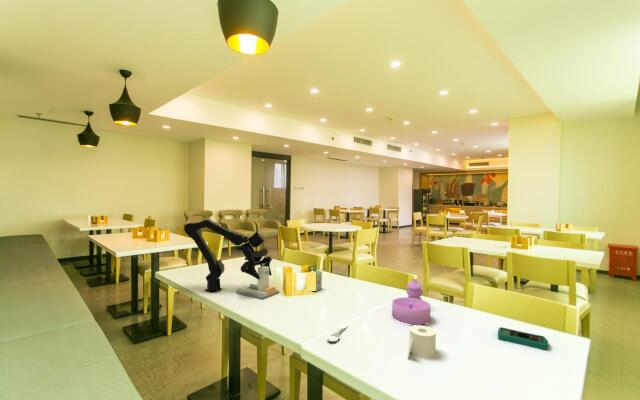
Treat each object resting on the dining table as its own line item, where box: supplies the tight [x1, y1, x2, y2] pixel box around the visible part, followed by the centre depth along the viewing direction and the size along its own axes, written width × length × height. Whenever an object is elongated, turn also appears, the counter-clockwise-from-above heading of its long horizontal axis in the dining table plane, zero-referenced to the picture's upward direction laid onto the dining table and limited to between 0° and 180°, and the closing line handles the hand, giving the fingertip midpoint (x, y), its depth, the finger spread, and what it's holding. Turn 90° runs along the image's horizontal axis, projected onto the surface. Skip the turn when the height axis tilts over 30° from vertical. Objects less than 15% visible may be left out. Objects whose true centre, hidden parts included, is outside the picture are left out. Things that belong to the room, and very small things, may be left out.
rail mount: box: [235, 283, 280, 301], centre depth 160 cm, size 18×13×4 cm
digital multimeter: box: [497, 326, 549, 351], centre depth 109 cm, size 7×15×3 cm, turn 57°
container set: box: [391, 278, 431, 326], centre depth 134 cm, size 25×15×13 cm, turn 157°
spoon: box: [326, 328, 346, 343], centre depth 114 cm, size 4×21×2 cm, turn 155°
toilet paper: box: [406, 325, 437, 359], centre depth 100 cm, size 8×11×7 cm
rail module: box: [257, 266, 270, 292], centre depth 158 cm, size 4×4×13 cm
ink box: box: [308, 264, 323, 292], centre depth 166 cm, size 7×4×13 cm, turn 143°
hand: (265, 277), depth 157 cm, fingers open, 9 cm apart
